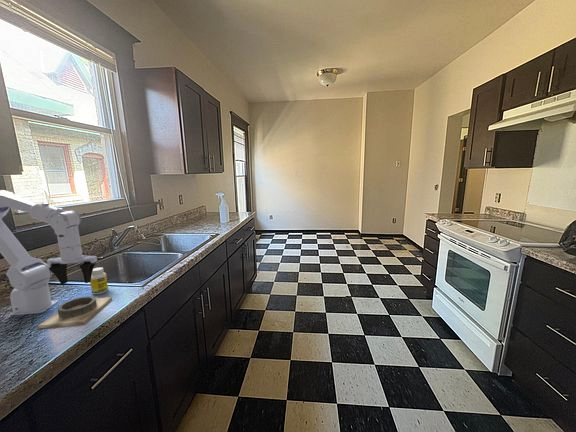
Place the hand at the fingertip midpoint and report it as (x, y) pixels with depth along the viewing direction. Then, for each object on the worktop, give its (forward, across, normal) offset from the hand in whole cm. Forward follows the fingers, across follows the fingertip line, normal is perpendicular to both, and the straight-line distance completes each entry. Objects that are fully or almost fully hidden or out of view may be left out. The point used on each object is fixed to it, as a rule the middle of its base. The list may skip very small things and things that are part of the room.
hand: (76, 282), depth 88 cm
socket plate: (+9, +2, -4) cm, 10 cm away
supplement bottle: (+10, 0, +12) cm, 15 cm away
